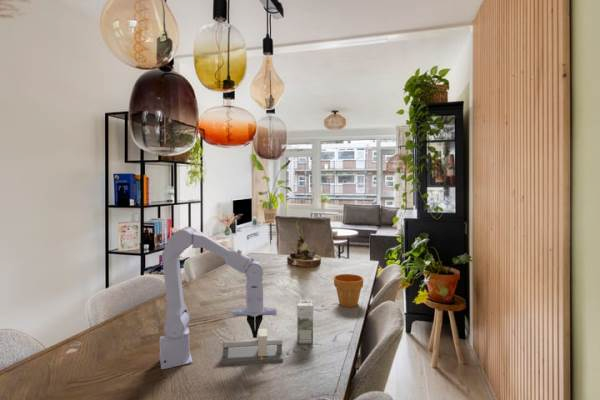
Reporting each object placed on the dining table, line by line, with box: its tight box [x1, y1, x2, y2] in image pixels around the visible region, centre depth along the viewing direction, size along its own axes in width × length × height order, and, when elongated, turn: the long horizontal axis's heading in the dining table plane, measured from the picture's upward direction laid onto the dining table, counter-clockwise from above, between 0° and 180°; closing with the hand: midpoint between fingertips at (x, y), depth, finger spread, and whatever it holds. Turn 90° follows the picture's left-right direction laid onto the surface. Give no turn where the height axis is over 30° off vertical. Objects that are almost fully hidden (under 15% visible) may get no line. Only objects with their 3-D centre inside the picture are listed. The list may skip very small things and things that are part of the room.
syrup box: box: [296, 300, 314, 345], centre depth 123 cm, size 6×6×14 cm
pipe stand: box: [220, 338, 284, 366], centre depth 112 cm, size 20×9×6 cm, turn 96°
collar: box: [257, 327, 268, 356], centre depth 112 cm, size 3×6×7 cm, turn 6°
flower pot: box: [333, 273, 364, 308], centre depth 161 cm, size 14×14×13 cm
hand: (255, 336), depth 112 cm, fingers closed
